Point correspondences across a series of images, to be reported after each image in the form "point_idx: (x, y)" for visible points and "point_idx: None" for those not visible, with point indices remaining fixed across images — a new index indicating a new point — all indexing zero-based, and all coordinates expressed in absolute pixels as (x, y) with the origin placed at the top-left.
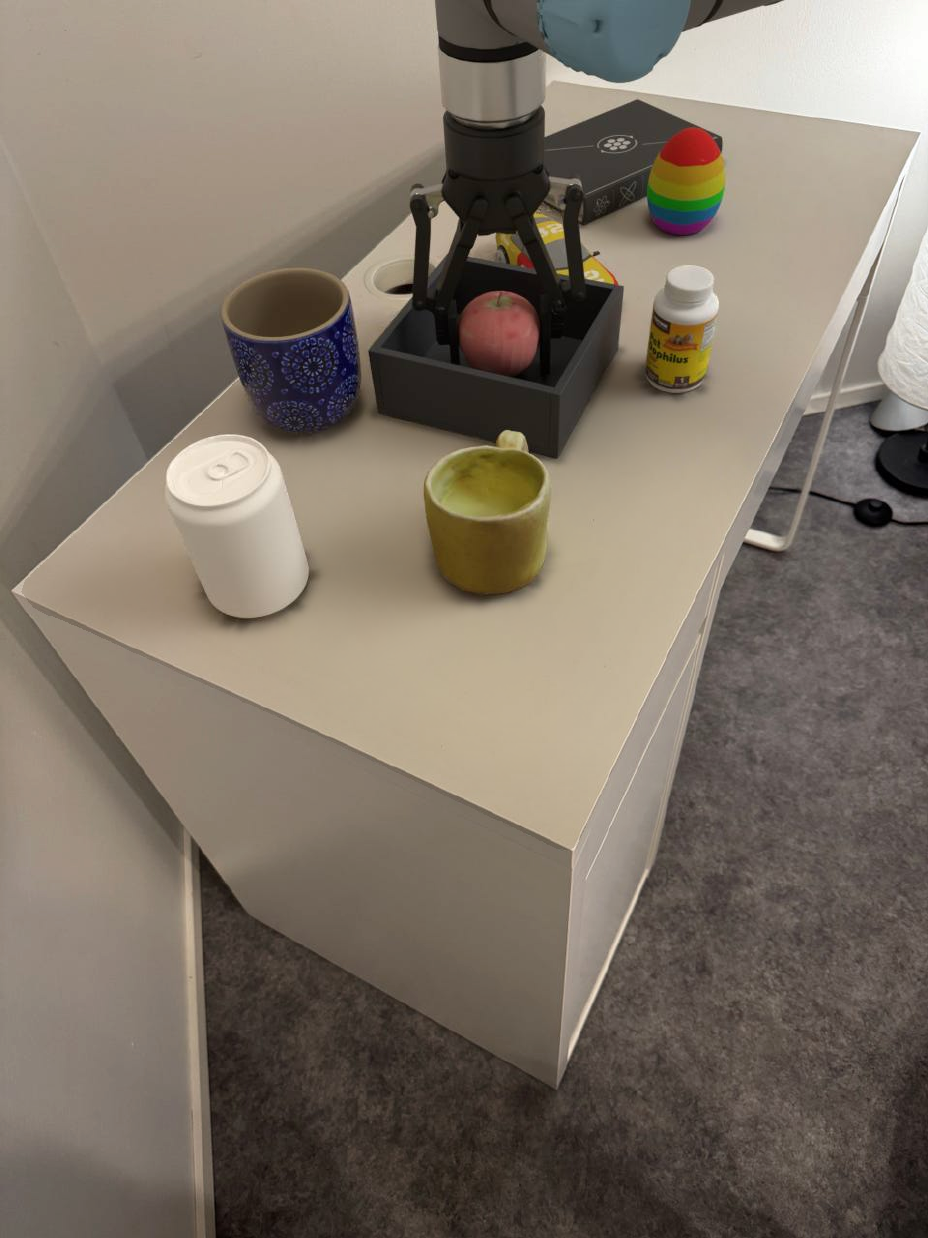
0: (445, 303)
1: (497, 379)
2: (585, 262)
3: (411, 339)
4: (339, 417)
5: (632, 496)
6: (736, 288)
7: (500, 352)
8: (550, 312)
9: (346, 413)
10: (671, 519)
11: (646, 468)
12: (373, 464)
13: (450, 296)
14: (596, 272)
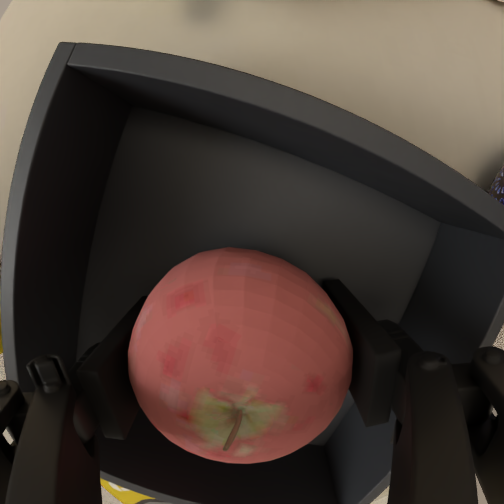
0: (426, 379)
1: (221, 68)
2: (132, 502)
3: (426, 349)
4: (501, 169)
5: (47, 46)
6: (7, 433)
7: (225, 256)
8: (78, 370)
9: (494, 182)
10: (22, 29)
11: (24, 101)
12: (435, 90)
13: (420, 400)
14: (113, 486)
